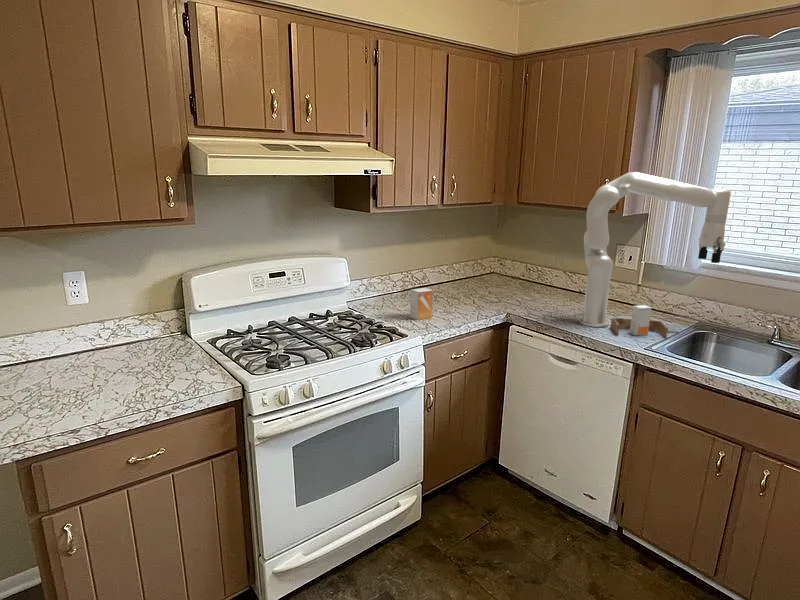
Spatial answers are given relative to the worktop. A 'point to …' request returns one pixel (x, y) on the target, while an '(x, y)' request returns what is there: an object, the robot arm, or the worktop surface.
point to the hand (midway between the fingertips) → (708, 260)
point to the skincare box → (640, 320)
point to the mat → (671, 329)
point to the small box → (421, 303)
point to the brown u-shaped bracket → (625, 323)
